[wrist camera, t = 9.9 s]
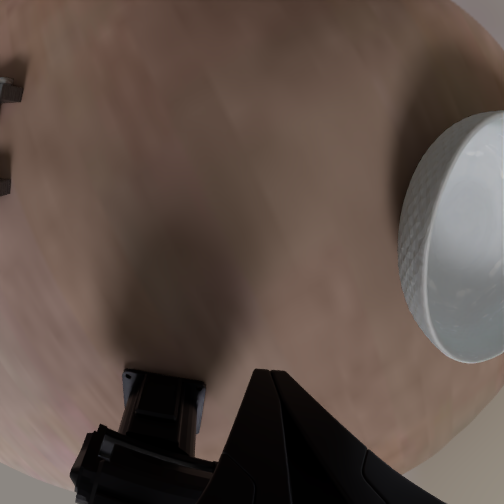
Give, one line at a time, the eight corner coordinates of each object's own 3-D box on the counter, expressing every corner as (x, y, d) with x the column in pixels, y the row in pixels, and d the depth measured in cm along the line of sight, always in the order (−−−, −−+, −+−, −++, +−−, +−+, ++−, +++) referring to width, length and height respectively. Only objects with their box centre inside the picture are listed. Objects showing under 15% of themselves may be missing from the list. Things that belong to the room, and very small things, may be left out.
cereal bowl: (529, 164, 19) (584, 176, 12) (477, 324, 24) (521, 362, 17) (399, 73, 16) (467, 52, 10) (334, 302, 21) (375, 363, 14)
